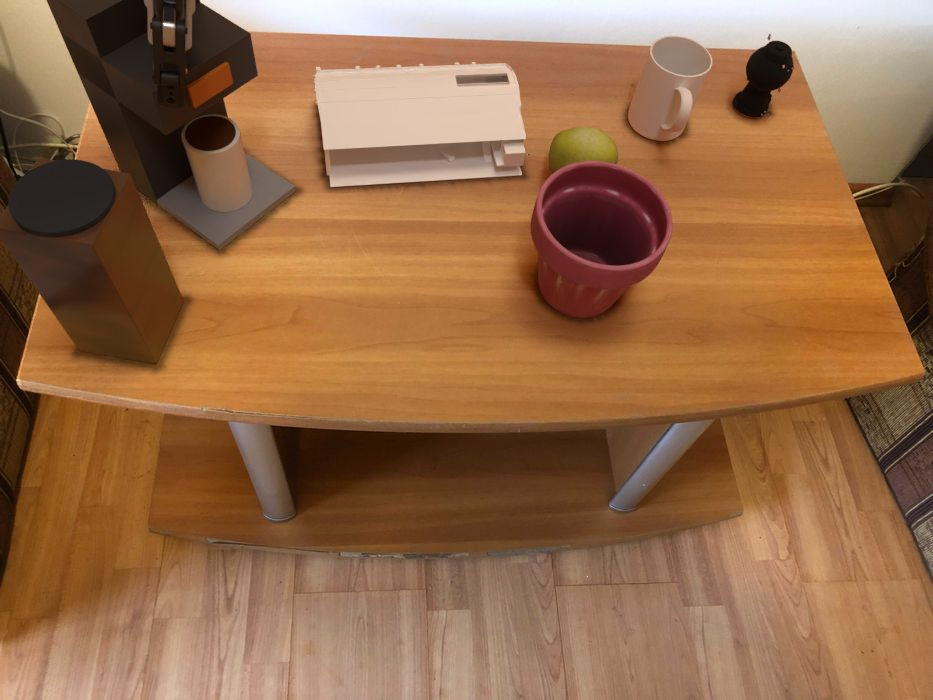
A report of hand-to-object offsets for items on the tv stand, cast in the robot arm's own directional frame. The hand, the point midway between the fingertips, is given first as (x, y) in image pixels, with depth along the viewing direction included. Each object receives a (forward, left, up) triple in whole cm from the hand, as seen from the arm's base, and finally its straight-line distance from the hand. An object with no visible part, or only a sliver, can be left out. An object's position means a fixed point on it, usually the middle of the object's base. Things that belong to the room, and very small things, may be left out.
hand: (171, 70), depth 68 cm
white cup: (+1, +3, -19) cm, 19 cm away
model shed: (+21, +18, -20) cm, 34 cm away
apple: (+42, +15, -20) cm, 49 cm away
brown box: (-3, -16, -20) cm, 26 cm away
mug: (+52, +27, -20) cm, 62 cm away
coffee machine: (-2, +4, -20) cm, 20 cm away
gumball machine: (+65, +35, -20) cm, 76 cm away
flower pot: (+43, -1, -20) cm, 47 cm away
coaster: (-3, -16, -1) cm, 17 cm away
